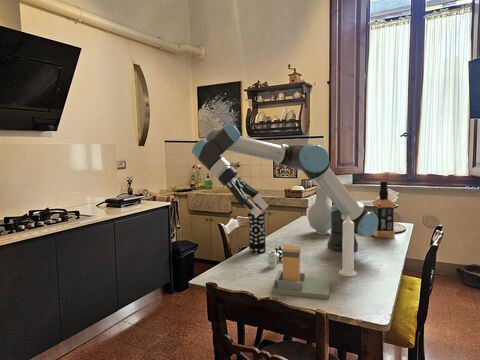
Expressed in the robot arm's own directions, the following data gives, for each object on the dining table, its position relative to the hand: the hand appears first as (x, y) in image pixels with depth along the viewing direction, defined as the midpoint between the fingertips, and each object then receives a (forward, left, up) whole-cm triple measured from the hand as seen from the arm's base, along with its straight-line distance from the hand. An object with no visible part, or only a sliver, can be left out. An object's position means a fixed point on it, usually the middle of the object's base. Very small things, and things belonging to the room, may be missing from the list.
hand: (263, 211), depth 132 cm
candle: (-37, -1, -29) cm, 47 cm away
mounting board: (-13, +7, -29) cm, 32 cm away
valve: (-12, -21, -29) cm, 38 cm away
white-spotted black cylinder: (-9, -41, -29) cm, 52 cm away
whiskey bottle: (-87, -47, -29) cm, 103 cm away
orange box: (-9, +5, -27) cm, 29 cm away
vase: (-57, -64, -29) cm, 90 cm away
